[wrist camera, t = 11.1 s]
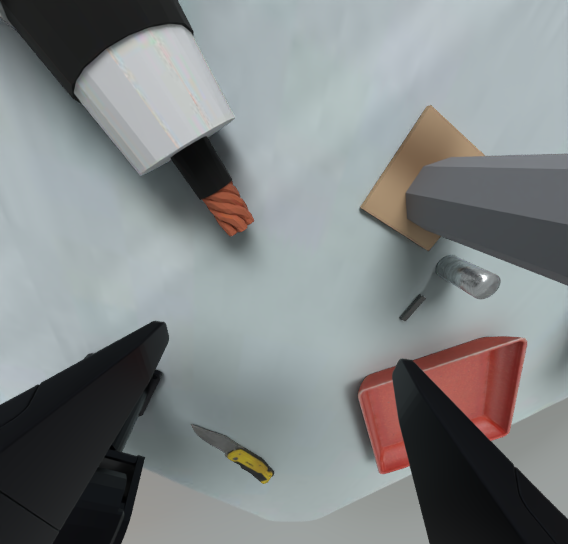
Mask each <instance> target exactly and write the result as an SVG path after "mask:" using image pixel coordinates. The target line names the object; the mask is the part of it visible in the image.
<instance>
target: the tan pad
mask: <svg viewBox="0 0 568 544" xmlns="http://www.w3.org/2000/svg"><path fill="white" fill-rule="evenodd" d="M472 156H485V155H484V154H483V153H482V152H480V151H479V150H478V149H477V148H476V147H475V146H474V145H473V144H472V143H471V142H470V141H469V140H468V139H467V138H466V137H464V136H463V135H462V134H461V133H460V132H459V131H458V130H457V129H456V128H455V127H454V126H453V125H452V124H451V123H449V122H448V121H447V120H446V119H445V118H444V117H443V116H442V115H441V114H440V113H439V112H438V111H437V110H436V109H435V108H433V107H432V106H431V105H430V106H427V107H426V108H425V110H424V111H423V113H422V114H421V116H420V117H419V119H418V120H417V122H416V124H415V125H414V127H413V128H412V130H411V131H410V133H409V134H408V136H407V137H406V139H405V140H404V142H403V143H402V145H401V146H400V148H399V149H398V151H397V152H396V154H395V155H394V157H393V158H392V160H391V161H390V163H389V164H388V166H387V167H386V169H385V170H384V172H383V173H382V175H381V176H380V178H379V179H378V181H377V182H376V184H375V186H374V187H373V189H372V190H371V192H370V193H369V195H368V196H367V198H366V199H365V201H364V202H363V204H362V205H361V207H360V208H362V209H363V210H365V211H366V212H368V213H369V214H371V215H372V216H374V217H376V218H377V219H379V220H380V221H382V222H383V223H385V224H387V225H388V226H390V227H391V228H393V229H394V230H396V231H397V232H399V233H401V234H402V235H404V236H405V237H407V238H408V239H410V240H411V241H413V242H415V243H416V244H418V245H419V246H421V247H422V248H424V249H426V250H428V251H429V250H430V249H431V248H432V246H433V245H434V244H435V243H436V242H437V240H438V239H439V238H440V237H441V236H439V235H437V234H434V233H432V232H429V231H427V230H424V229H423V228H421V227H420V226H418V225H416V224H415V223H413V222H412V221H410V220H408V219H407V210H406V191H407V190H408V188H409V187H410V185H411V184H412V182H413V181H414V180H415V178H416V177H417V175H418V174H419V172H420V171H421V169H422V168H423V166H426V165H429V164H432V163H435V162H438V161H441V160H444V159H447V158H450V157H472Z"/></svg>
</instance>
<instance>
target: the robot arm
mask: <svg viewBox="0 0 568 544" xmlns="http://www.w3.org/2000/svg"><path fill="white" fill-rule="evenodd" d="M168 341H169V334H168V330H167V326H166V323H165V322H161V321H153V322H151V323H149V324H147V325H145V326H143V327H142V328H140V329H138V330H136V331H134V332H132V333H131V334H129V335H127V336H125V337H123V338H122V339H120V340H118V341H116V342H114V343H112V344H111V345H109V346H107V347H105V348H103V349H102V350H100V351H98V352H96V353H94V354H92V353H91V354H88V355H87V356H86V357H85V358H84V359H83V360H82V361H80V362H78V363H76V364H74V365H72V366H71V367H69V368H67V369H65V370H63V371H62V372H60V373H58V374H56V375H54V376H52V377H51V378H49V379H47V380H45V381H43V382H42V383H40V385H36V386H34V387H32V388H30V389H29V390H27V391H25V392H23V393H21V394H19V395H18V396H16V397H14V398H12V399H10V400H8V401H6V402H4V403H3V404H1V405H0V544H121V543H122V540H123V538H124V535H125V533H126V530H127V527H128V524H129V521H130V517H131V514H132V510H133V505H134V501H135V497H136V493H137V489H138V484H139V480H140V476H141V472H142V468H143V463H144V459H145V457H143V456H140V455H138V456H134V455H131V454H127V453H123V452H122V451H123V449H124V446H125V444H126V442H127V440H128V438H129V435H130V433H131V431H132V429H133V426H134V424H135V422H136V420H137V418H138V416H142V415H143V413H144V411H145V409H146V407H147V405H148V403H149V401H150V399H151V397H152V395H153V393H154V391H155V389H156V386H157V384H158V382H159V380H160V378H161V376H162V373H161V372H160V371H158V370H155V369H156V367H157V365H158V363H159V361H160V359H161V357H162V354H163V352H164V350H165V348H166V346H167V344H168ZM392 380H393V387H394V394H395V401H396V408H397V414H398V420H399V425H400V429H401V433H402V437H403V441H404V445H405V449H406V453H407V457H408V461H409V464H410V468H411V472H412V476H413V480H414V484H415V488H416V492H417V496H418V500H419V504H420V507H421V512H422V515H423V519H424V523H425V527H426V531H427V535H428V539H429V543H430V544H568V519H567V518H566V517H565V516H564V515H563V514H562V513H561V512H560V511H559V510H558V509H557V508H556V507H555V506H554V505H553V504H552V503H551V502H550V501H549V500H548V499H547V498H546V497H545V496H544V495H543V494H542V493H541V492H540V491H539V490H538V489H537V488H536V487H535V486H534V485H533V484H532V483H531V482H530V481H529V480H528V479H527V478H526V477H525V476H524V475H523V474H522V473H521V471H520V470H519V469H518V468H516V467H514V465H513V463H512V462H511V461H510V460H509V459H508V458H507V457H506V456H505V455H504V454H503V453H502V452H501V451H500V450H499V449H498V448H497V447H496V446H495V445H494V444H493V443H492V442H491V441H490V440H489V439H488V438H487V436H486V435H485V434H484V433H483V432H482V431H481V430H480V429H479V428H478V427H477V426H476V425H475V424H474V423H473V422H472V421H471V420H470V419H469V418H468V417H467V416H466V415H465V414H464V413H463V412H462V411H461V410H460V409H459V408H458V407H457V406H456V405H455V403H454V402H453V401H452V400H451V399H450V398H449V397H448V396H447V395H446V394H445V393H444V392H443V391H442V390H441V389H440V388H439V387H438V386H437V385H436V384H435V383H434V382H433V381H432V380H431V379H430V378H429V377H428V376H427V375H426V374H425V373H424V371H423V370H422V369H421V368H420V367H419V366H418V365H417V364H416V363H415V362H414V361H412V360H408V359H400V360H399V361H398V363H397V365H396V367H395V369H394V371H393V374H392Z"/></svg>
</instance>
